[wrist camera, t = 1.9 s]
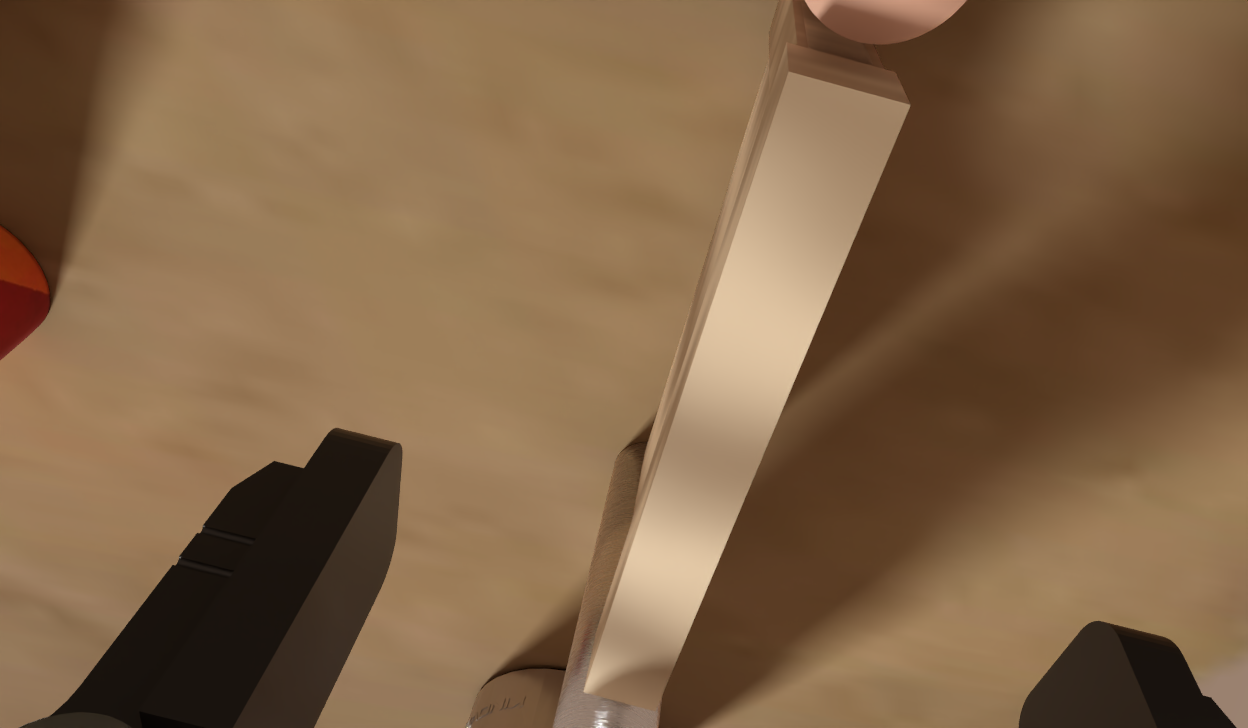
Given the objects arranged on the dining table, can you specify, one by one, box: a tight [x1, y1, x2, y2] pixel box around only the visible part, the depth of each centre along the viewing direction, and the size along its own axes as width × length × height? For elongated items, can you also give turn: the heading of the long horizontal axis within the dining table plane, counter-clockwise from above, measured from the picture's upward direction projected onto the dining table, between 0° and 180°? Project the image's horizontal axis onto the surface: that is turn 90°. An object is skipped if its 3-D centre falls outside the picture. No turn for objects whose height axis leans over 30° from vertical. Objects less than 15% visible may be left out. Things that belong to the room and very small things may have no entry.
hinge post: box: [553, 442, 662, 728], centre depth 28 cm, size 3×3×16 cm
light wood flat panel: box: [584, 0, 911, 711], centre depth 23 cm, size 17×2×10 cm, turn 167°
